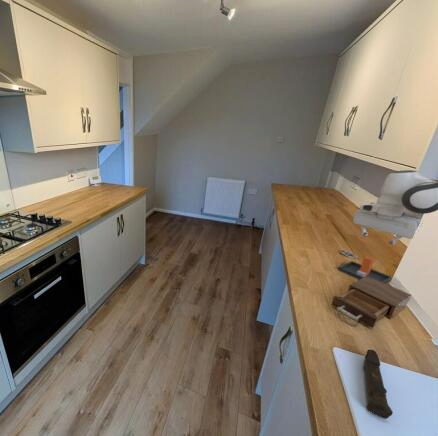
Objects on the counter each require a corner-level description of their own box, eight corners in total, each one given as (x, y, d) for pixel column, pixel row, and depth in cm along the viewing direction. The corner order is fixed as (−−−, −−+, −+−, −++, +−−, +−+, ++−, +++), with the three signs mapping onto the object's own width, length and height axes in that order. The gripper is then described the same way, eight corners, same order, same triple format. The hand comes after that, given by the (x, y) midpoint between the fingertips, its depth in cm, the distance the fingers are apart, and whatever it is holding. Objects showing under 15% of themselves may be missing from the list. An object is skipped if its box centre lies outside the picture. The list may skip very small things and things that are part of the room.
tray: (390, 280, 105) (392, 277, 105) (377, 288, 100) (379, 284, 100) (350, 264, 118) (351, 261, 117) (337, 270, 113) (338, 266, 112)
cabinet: (389, 319, 84) (396, 306, 82) (345, 296, 95) (350, 284, 93) (405, 306, 90) (411, 294, 88) (362, 286, 101) (366, 275, 99)
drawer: (366, 332, 77) (370, 323, 75) (325, 308, 87) (327, 299, 86) (388, 315, 84) (393, 307, 83) (348, 295, 94) (351, 287, 93)
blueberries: (340, 250, 132) (342, 247, 131) (359, 255, 126) (360, 252, 125) (337, 253, 128) (338, 250, 127) (356, 259, 122) (357, 256, 121)
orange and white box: (369, 274, 109) (375, 258, 106) (363, 277, 106) (369, 261, 103) (361, 271, 111) (367, 255, 108) (355, 274, 108) (361, 258, 105)
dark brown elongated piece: (388, 423, 54) (396, 410, 52) (364, 410, 56) (371, 397, 54) (379, 363, 68) (385, 351, 66) (361, 355, 70) (366, 343, 68)
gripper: (428, 216, 91) (413, 248, 95) (363, 202, 108) (353, 230, 112) (421, 218, 88) (407, 251, 93) (356, 204, 105) (346, 232, 110)
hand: (377, 239), depth 103 cm, fingers open, 8 cm apart
